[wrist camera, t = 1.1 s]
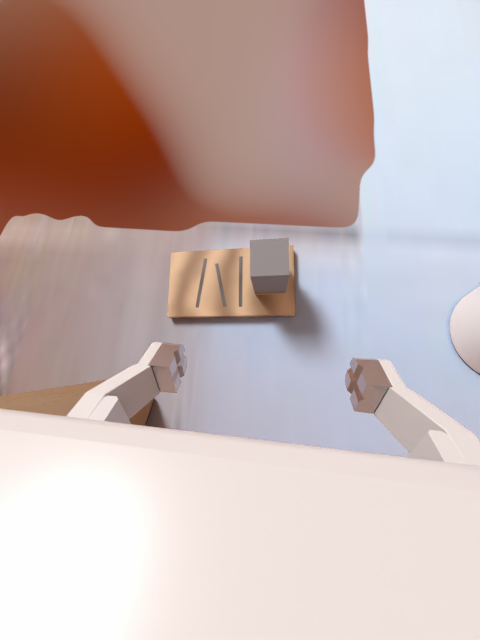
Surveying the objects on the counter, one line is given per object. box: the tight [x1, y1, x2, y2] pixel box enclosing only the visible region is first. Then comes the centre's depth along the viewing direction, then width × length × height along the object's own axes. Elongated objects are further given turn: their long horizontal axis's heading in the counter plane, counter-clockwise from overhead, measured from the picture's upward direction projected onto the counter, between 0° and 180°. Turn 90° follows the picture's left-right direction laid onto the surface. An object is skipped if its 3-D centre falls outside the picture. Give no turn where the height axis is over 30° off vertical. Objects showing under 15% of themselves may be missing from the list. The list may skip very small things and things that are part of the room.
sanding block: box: [250, 238, 289, 295], centre depth 33 cm, size 5×5×9 cm
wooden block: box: [0, 380, 153, 426], centre depth 30 cm, size 10×10×20 cm
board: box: [167, 245, 295, 318], centre depth 39 cm, size 22×12×2 cm, turn 90°
